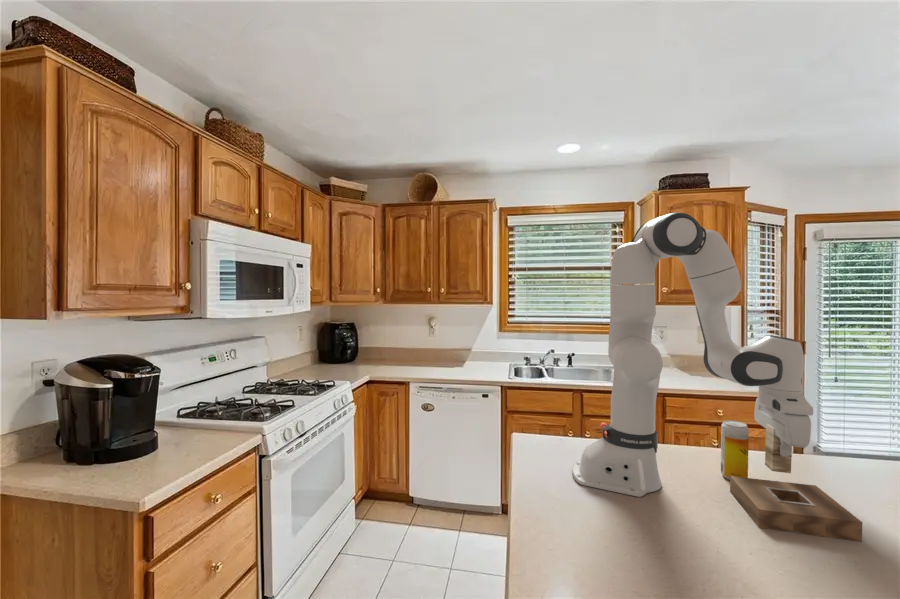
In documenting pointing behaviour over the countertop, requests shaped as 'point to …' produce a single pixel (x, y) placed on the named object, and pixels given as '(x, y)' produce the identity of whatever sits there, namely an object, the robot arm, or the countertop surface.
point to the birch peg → (776, 453)
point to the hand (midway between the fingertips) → (778, 451)
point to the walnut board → (794, 508)
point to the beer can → (734, 449)
